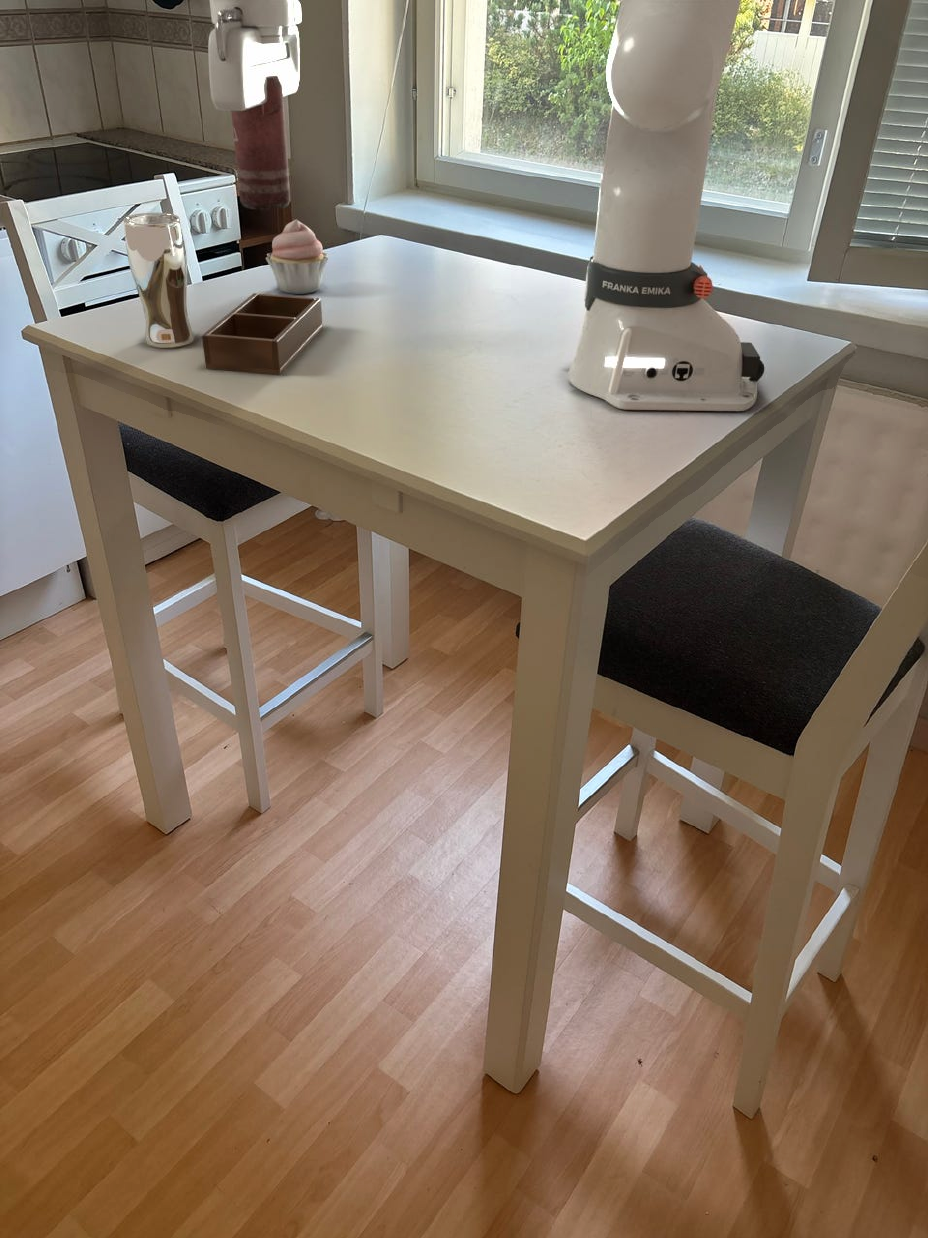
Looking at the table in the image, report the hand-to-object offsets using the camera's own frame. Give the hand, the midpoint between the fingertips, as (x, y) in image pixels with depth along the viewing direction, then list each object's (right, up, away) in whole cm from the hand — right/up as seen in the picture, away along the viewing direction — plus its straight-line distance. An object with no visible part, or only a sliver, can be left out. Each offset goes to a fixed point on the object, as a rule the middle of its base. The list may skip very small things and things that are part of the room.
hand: (262, 144), depth 113 cm
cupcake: (-1, -6, +32) cm, 32 cm away
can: (0, -6, +4) cm, 7 cm away
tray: (-1, -21, +10) cm, 23 cm away
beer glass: (-14, -20, +11) cm, 27 cm away
